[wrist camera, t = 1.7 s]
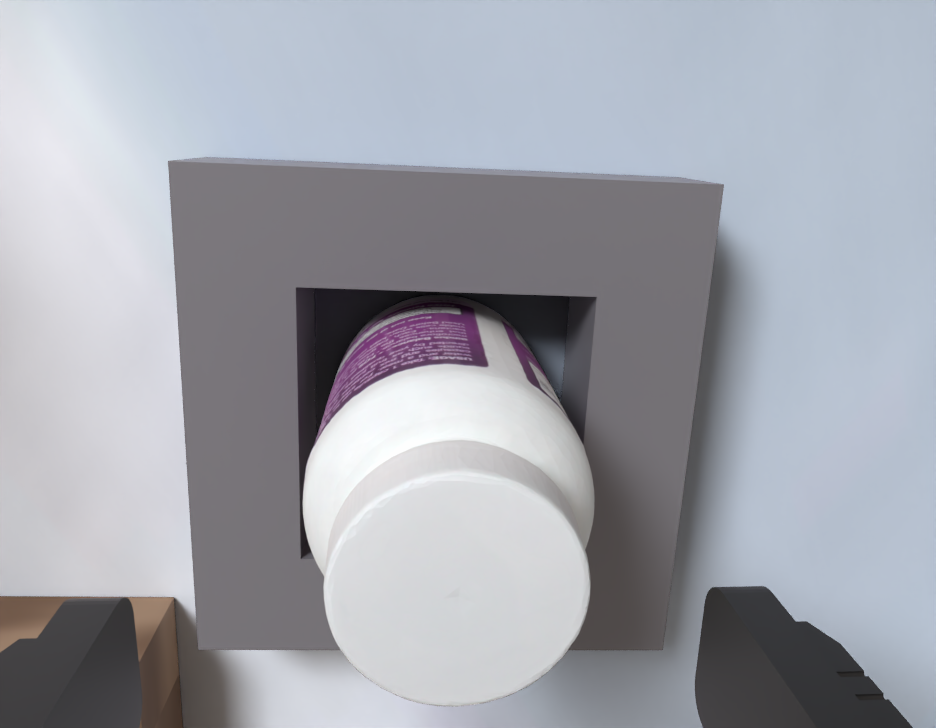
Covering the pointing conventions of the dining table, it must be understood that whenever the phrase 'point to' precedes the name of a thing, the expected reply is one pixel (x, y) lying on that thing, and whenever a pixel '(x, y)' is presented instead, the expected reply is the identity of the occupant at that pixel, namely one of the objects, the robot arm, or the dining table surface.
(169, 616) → the dock
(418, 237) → the grey square frame
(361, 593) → the pill bottle
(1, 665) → the robot arm
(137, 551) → the dining table surface
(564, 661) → the dining table surface
